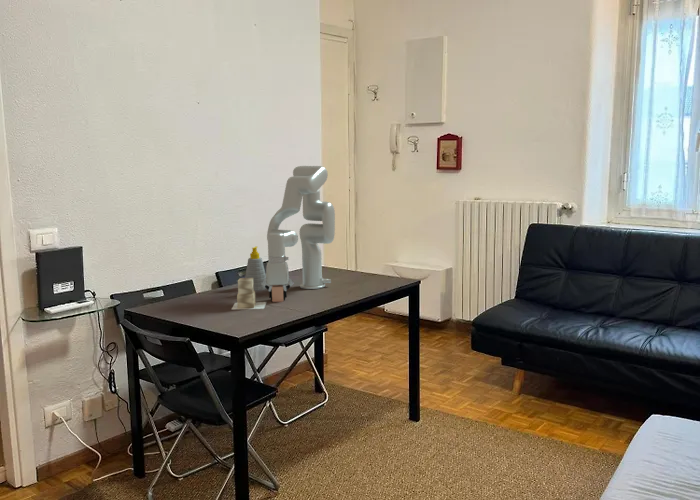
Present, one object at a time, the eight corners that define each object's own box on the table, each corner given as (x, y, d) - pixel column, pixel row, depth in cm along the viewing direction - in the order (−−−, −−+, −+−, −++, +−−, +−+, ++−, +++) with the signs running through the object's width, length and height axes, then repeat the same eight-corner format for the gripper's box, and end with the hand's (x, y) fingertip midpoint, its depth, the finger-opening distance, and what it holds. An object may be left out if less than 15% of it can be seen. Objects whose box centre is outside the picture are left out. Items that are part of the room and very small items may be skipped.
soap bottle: (271, 285, 324) (269, 245, 321) (265, 290, 312) (264, 249, 309) (247, 285, 325) (245, 245, 322) (240, 290, 313) (238, 249, 310)
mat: (266, 302, 287) (266, 302, 287) (264, 309, 275) (264, 308, 275) (235, 303, 287) (235, 302, 287) (231, 310, 275) (231, 309, 275)
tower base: (255, 304, 284) (255, 290, 283) (253, 308, 277) (253, 294, 276) (239, 304, 283) (239, 291, 282) (237, 308, 276) (237, 294, 275)
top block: (284, 299, 293) (283, 284, 292) (283, 302, 288) (282, 287, 287) (273, 300, 293) (272, 285, 292) (272, 302, 288) (271, 287, 287)
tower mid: (253, 291, 282) (253, 277, 281) (252, 294, 276) (251, 280, 275) (240, 291, 282) (239, 278, 281) (238, 294, 276) (237, 280, 275)
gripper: (296, 258, 291) (297, 297, 294) (258, 258, 291) (260, 298, 294) (295, 260, 284) (296, 300, 287) (256, 261, 283) (258, 301, 286)
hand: (278, 299), depth 290 cm, fingers closed on top block, 5 cm apart
